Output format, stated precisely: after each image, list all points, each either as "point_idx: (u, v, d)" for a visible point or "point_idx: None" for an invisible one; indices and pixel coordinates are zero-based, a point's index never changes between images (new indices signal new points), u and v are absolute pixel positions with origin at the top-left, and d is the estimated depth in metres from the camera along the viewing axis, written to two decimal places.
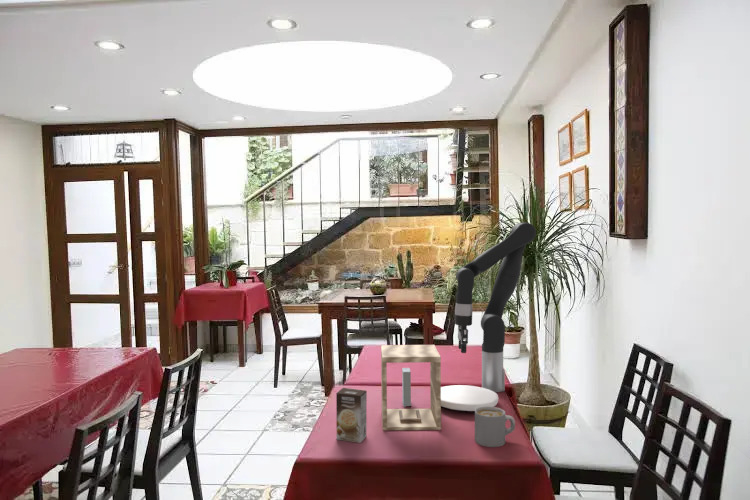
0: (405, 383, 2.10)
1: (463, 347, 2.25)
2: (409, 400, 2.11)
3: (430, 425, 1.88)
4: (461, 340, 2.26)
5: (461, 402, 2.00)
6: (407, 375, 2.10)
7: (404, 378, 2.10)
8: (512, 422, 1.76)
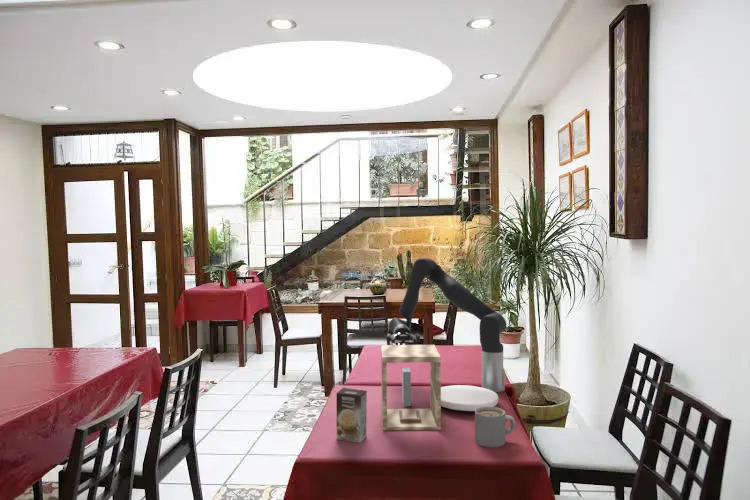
0: (405, 383, 2.10)
1: (391, 340, 2.26)
2: (409, 400, 2.11)
3: (430, 425, 1.88)
4: None
5: (461, 402, 2.00)
6: (407, 375, 2.10)
7: (404, 378, 2.10)
8: (512, 422, 1.76)
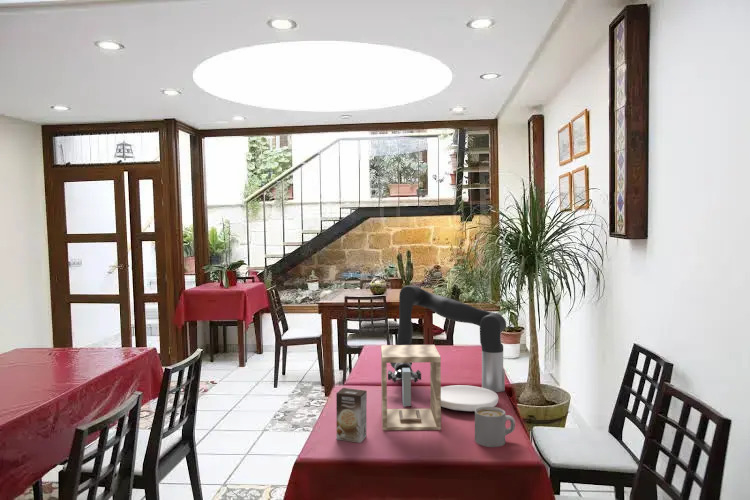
0: (405, 383, 2.10)
1: None
2: (409, 400, 2.11)
3: (430, 425, 1.88)
4: None
5: (461, 402, 2.00)
6: (408, 375, 2.10)
7: (404, 378, 2.10)
8: (512, 422, 1.76)
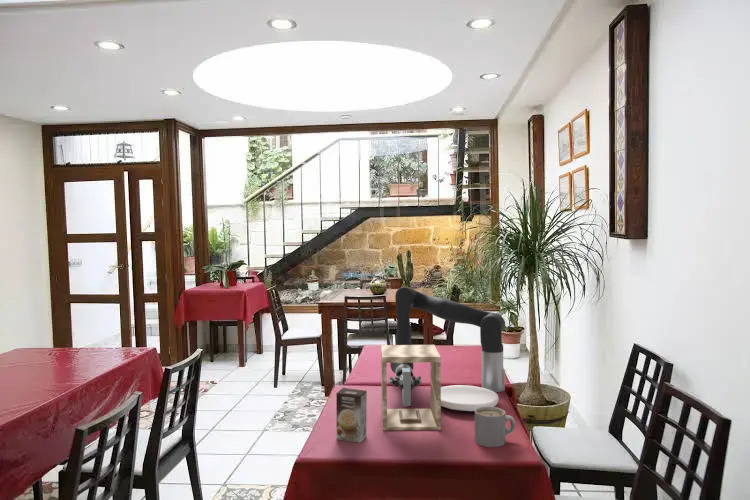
0: (405, 383, 2.10)
1: (399, 385, 2.13)
2: (409, 400, 2.11)
3: (430, 425, 1.88)
4: (399, 385, 2.16)
5: (461, 402, 2.00)
6: (407, 375, 2.10)
7: (404, 378, 2.10)
8: (512, 422, 1.76)
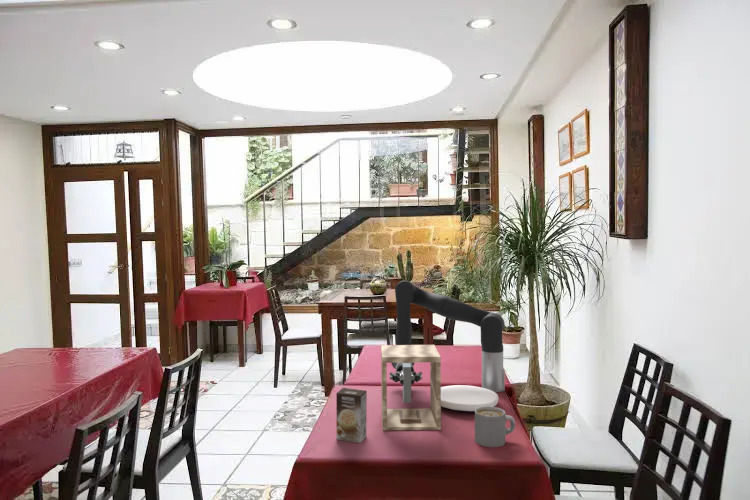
0: (405, 379, 2.05)
1: (400, 381, 2.07)
2: (409, 396, 2.05)
3: (430, 425, 1.88)
4: None
5: (461, 402, 2.00)
6: (408, 370, 2.05)
7: (404, 373, 2.05)
8: (512, 422, 1.76)
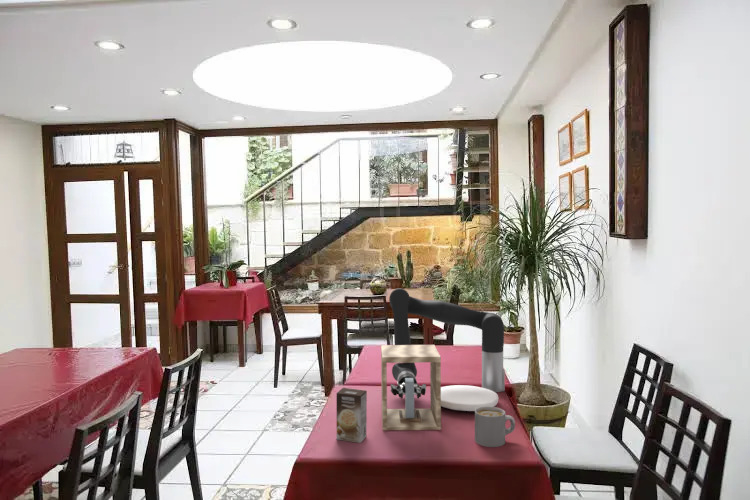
0: (408, 395, 1.92)
1: (398, 394, 1.95)
2: (412, 413, 1.93)
3: (430, 425, 1.88)
4: None
5: (461, 402, 2.00)
6: (411, 386, 1.92)
7: (407, 389, 1.92)
8: (512, 422, 1.76)
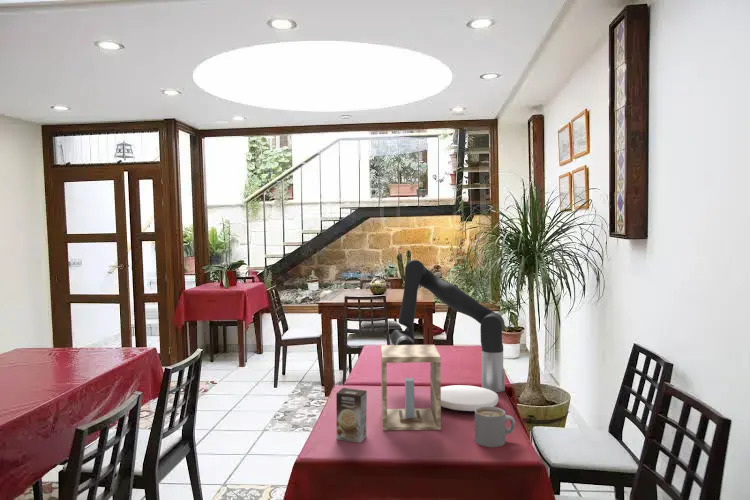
0: (408, 395, 1.92)
1: None
2: (412, 413, 1.93)
3: (430, 425, 1.88)
4: None
5: (461, 402, 2.00)
6: (411, 386, 1.92)
7: (407, 389, 1.92)
8: (512, 422, 1.76)
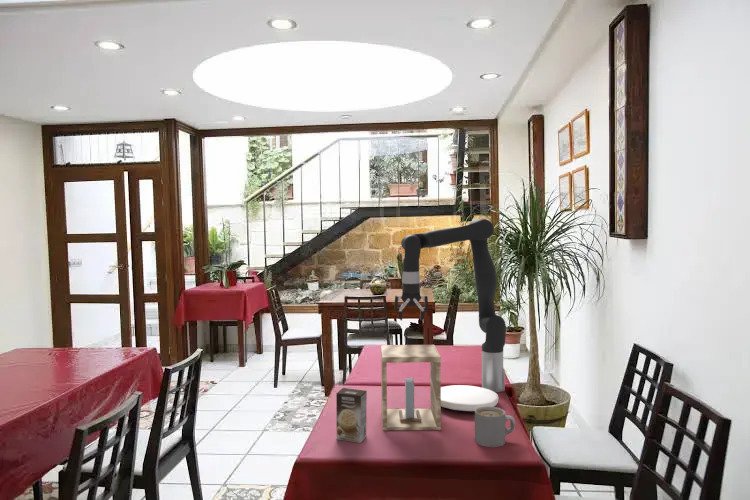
0: (408, 395, 1.92)
1: None
2: (412, 413, 1.93)
3: (430, 425, 1.88)
4: (400, 307, 2.25)
5: (461, 402, 2.00)
6: (411, 386, 1.92)
7: (407, 389, 1.92)
8: (512, 422, 1.76)
